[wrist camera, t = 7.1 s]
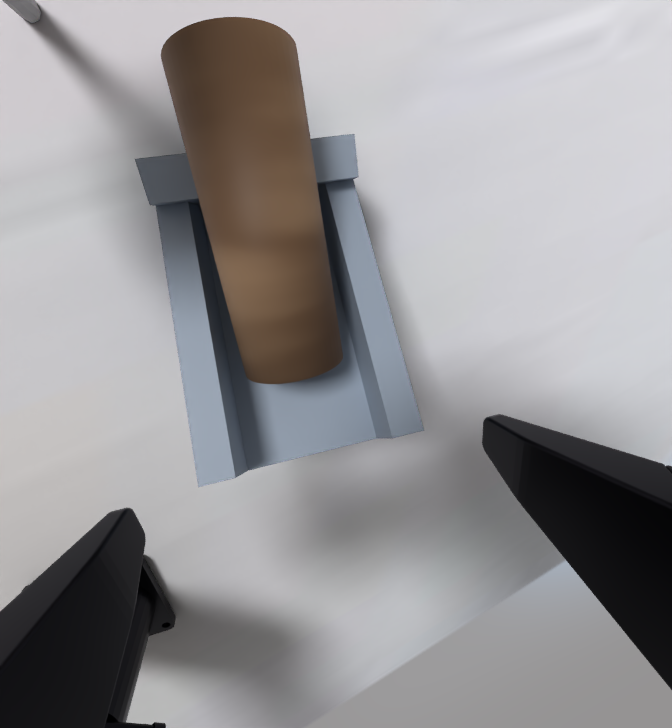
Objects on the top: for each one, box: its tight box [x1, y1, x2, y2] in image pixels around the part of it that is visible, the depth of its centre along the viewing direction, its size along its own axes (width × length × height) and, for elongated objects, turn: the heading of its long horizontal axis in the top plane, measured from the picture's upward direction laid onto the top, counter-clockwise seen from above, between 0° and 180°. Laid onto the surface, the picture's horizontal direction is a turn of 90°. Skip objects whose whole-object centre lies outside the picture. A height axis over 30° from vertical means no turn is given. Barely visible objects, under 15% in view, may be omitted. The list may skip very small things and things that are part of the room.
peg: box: [161, 17, 343, 384], centre depth 10 cm, size 3×3×8 cm
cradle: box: [135, 134, 424, 487], centre depth 12 cm, size 11×7×8 cm, turn 8°
